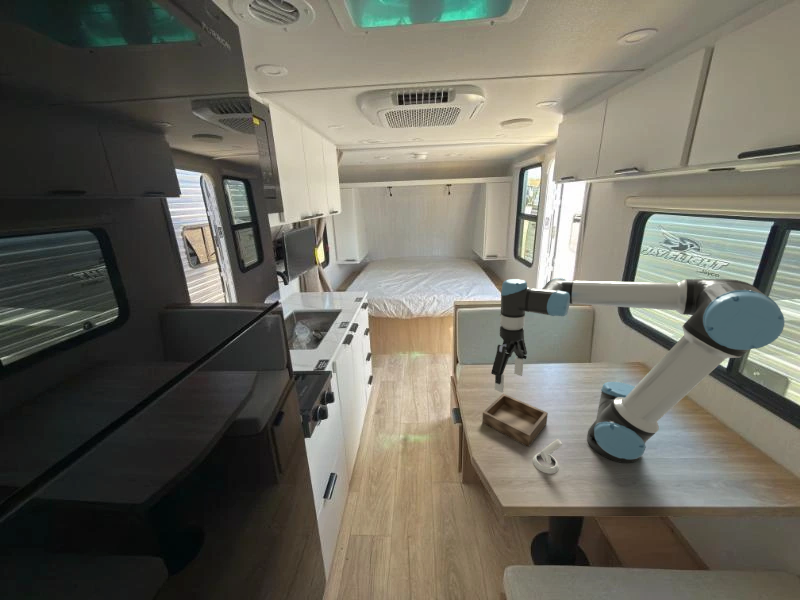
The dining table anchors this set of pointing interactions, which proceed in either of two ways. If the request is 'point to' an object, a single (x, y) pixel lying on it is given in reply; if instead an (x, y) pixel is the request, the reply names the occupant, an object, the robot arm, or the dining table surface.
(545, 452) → the hook
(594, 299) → the robot arm
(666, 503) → the dining table surface
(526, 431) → the wooden tray
